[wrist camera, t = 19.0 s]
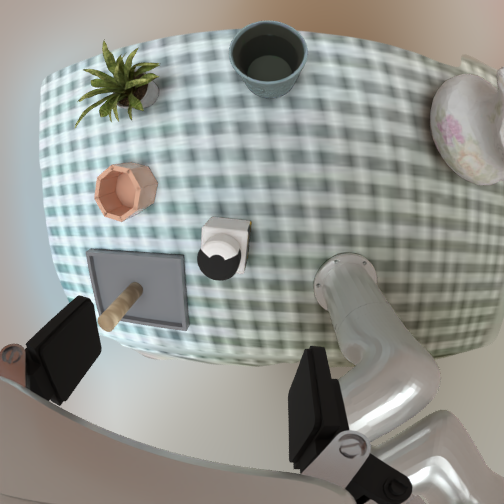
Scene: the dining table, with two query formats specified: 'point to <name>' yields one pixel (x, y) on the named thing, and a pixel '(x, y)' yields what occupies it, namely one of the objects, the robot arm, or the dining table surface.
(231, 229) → the medicine bottle
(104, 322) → the dowel
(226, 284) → the dining table surface
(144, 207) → the cup
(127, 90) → the house plant
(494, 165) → the ceramic pitcher
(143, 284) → the tray
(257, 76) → the blue-grey plant pot
